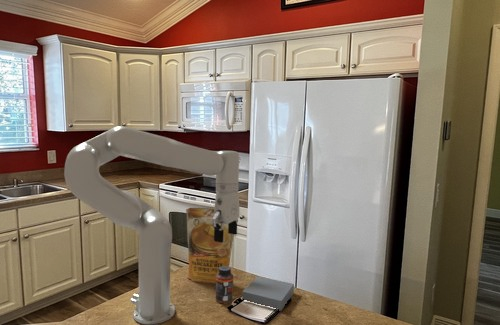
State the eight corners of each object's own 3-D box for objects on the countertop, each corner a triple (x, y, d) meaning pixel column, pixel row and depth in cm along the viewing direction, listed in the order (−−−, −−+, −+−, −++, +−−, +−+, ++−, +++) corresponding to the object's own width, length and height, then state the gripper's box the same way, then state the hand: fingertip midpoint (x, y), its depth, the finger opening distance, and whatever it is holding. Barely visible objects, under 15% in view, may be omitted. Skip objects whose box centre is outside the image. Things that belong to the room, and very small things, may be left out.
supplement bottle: (230, 305, 113) (231, 272, 112) (213, 303, 114) (213, 270, 113) (234, 296, 118) (235, 265, 117) (218, 294, 120) (218, 263, 119)
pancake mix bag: (188, 273, 136) (189, 205, 134) (234, 278, 133) (236, 209, 131) (182, 280, 130) (182, 209, 127) (230, 286, 127) (232, 213, 124)
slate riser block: (242, 301, 116) (242, 291, 115) (258, 284, 128) (258, 276, 128) (280, 311, 110) (281, 300, 109) (293, 293, 122) (294, 283, 122)
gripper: (224, 192, 103) (223, 247, 105) (248, 185, 119) (246, 232, 121) (203, 190, 106) (202, 243, 108) (229, 183, 122) (228, 229, 124)
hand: (225, 237), depth 114 cm, fingers open, 9 cm apart
